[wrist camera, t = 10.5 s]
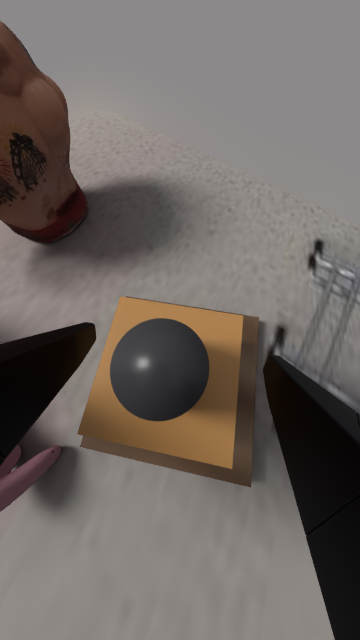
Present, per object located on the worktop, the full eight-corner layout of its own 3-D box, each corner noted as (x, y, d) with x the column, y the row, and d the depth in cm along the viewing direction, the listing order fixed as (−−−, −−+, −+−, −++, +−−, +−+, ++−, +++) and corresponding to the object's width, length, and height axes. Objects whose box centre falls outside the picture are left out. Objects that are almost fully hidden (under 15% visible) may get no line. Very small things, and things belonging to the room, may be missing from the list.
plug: (199, 407, 15) (262, 526, 3) (148, 397, 16) (17, 465, 3) (206, 354, 17) (268, 288, 4) (159, 346, 17) (94, 264, 5)
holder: (246, 480, 14) (268, 516, 11) (86, 442, 16) (54, 463, 12) (255, 320, 19) (272, 305, 15) (128, 300, 20) (115, 281, 16)
